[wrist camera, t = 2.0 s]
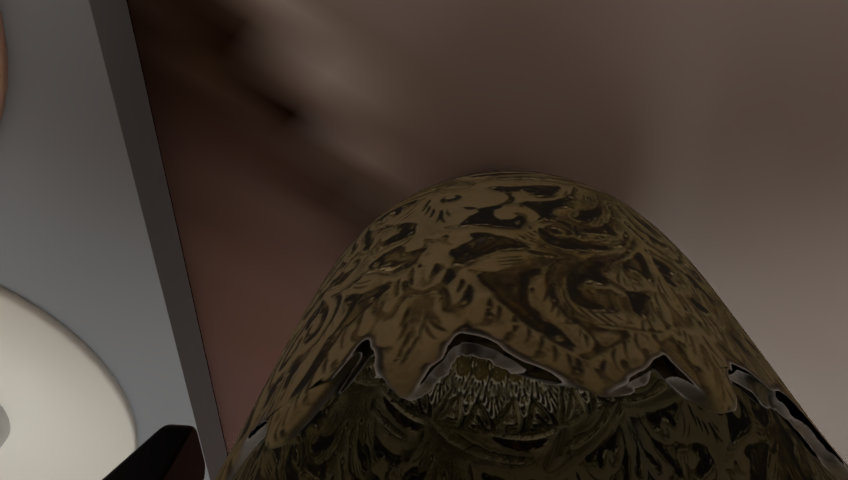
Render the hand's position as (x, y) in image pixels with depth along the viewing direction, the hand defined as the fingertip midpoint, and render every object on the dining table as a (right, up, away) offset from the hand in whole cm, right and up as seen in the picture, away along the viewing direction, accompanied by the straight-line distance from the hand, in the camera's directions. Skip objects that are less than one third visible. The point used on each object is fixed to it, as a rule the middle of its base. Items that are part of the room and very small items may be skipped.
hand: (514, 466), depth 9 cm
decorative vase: (0, +3, +5) cm, 6 cm away
